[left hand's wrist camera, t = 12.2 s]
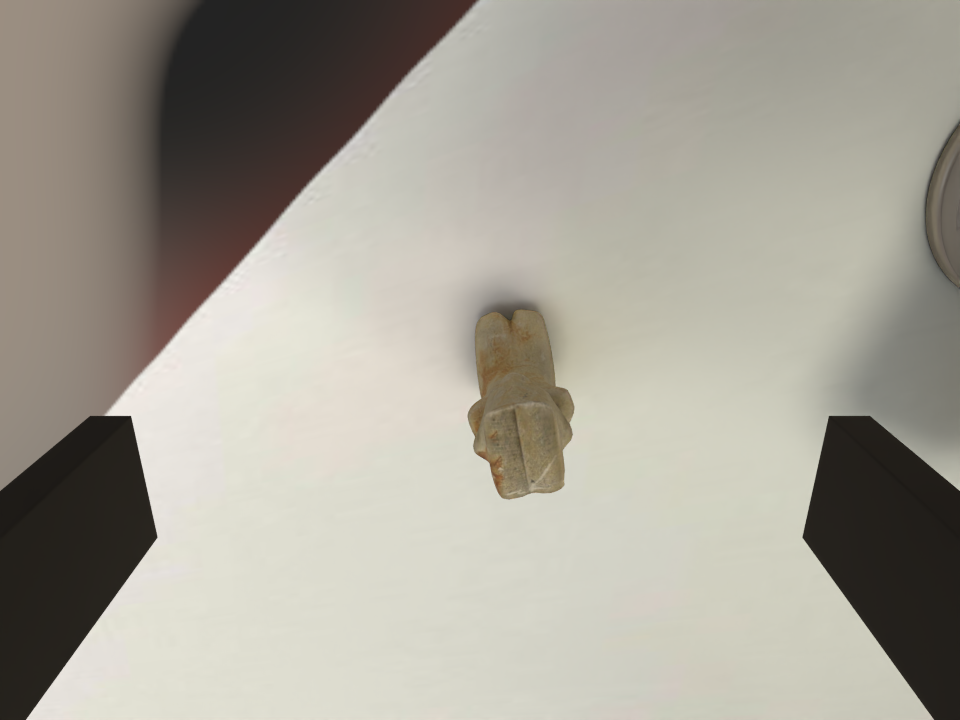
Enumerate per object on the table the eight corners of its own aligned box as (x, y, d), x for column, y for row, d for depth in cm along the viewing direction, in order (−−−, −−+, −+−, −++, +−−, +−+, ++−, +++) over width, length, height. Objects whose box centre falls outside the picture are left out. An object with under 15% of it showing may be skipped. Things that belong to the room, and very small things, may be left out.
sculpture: (554, 300, 43) (589, 398, 30) (559, 399, 46) (593, 533, 32) (465, 307, 44) (458, 409, 30) (475, 406, 46) (473, 541, 32)
